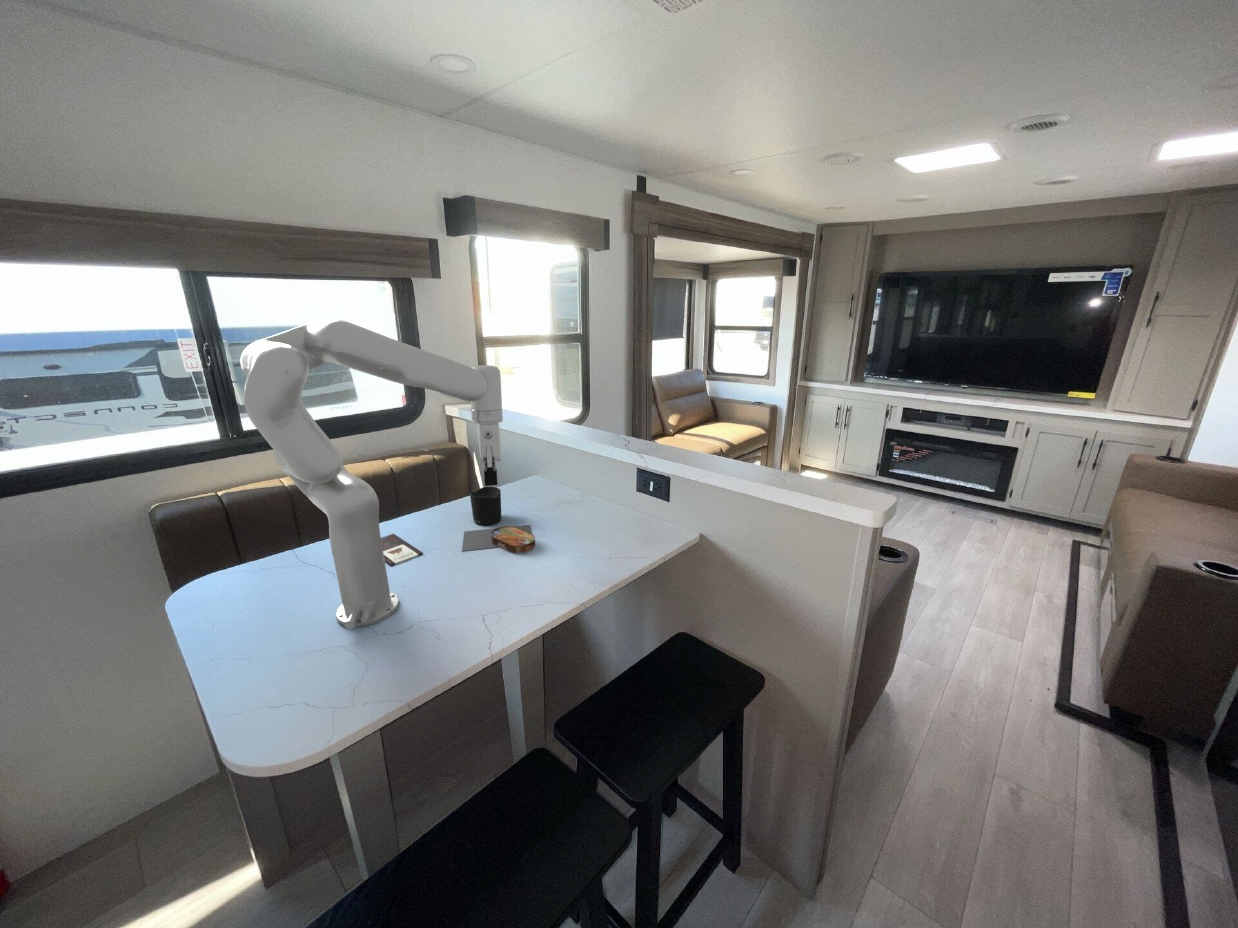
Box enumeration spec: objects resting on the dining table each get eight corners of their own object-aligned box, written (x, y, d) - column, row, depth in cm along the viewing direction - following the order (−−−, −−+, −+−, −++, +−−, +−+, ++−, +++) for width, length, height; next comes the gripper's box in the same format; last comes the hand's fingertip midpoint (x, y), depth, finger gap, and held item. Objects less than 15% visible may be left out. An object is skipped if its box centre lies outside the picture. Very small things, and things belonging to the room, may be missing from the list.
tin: (484, 532, 140) (507, 521, 146) (485, 542, 141) (508, 530, 147) (517, 548, 131) (540, 535, 137) (519, 558, 132) (542, 545, 138)
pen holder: (472, 516, 158) (469, 488, 155) (501, 513, 161) (499, 485, 158) (473, 528, 150) (470, 498, 147) (503, 524, 153) (501, 495, 150)
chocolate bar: (393, 533, 145) (422, 552, 134) (394, 536, 145) (423, 555, 134) (362, 543, 139) (390, 564, 127) (363, 546, 139) (390, 567, 128)
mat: (533, 543, 140) (533, 542, 140) (462, 551, 135) (461, 550, 135) (530, 525, 152) (530, 524, 152) (464, 532, 147) (464, 531, 147)
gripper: (503, 421, 115) (506, 493, 120) (501, 410, 129) (504, 475, 134) (470, 422, 113) (475, 495, 119) (472, 410, 127) (477, 476, 132)
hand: (491, 484), depth 126 cm, fingers closed
